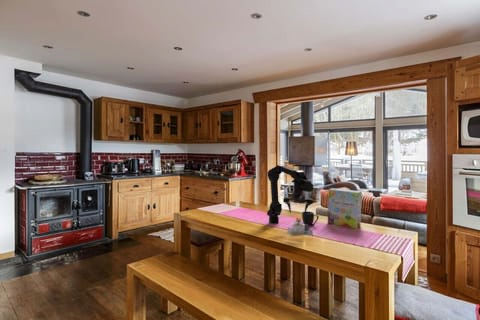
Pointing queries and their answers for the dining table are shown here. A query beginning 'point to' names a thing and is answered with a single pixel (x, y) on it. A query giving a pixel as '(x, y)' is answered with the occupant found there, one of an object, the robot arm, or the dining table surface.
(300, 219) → the plunger
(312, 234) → the slate board
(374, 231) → the dining table surface
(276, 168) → the robot arm
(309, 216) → the mug
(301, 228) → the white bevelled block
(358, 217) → the snack box
